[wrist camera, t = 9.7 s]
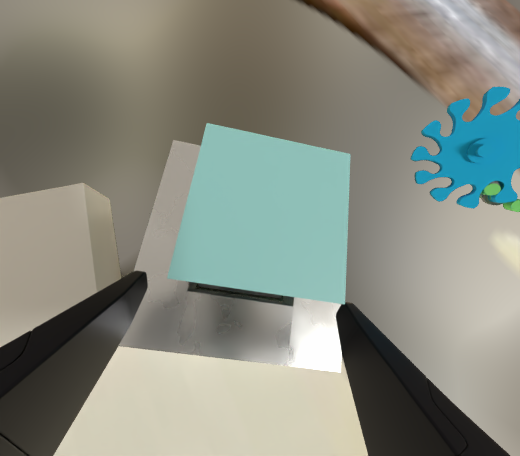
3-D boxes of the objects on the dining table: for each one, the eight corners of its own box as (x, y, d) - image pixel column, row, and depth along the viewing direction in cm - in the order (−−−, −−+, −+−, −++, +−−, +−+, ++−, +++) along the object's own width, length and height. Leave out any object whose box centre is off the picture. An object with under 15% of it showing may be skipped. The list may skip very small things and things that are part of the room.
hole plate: (320, 354, 16) (342, 373, 13) (135, 331, 14) (108, 346, 11) (331, 191, 19) (349, 175, 16) (182, 161, 18) (172, 138, 15)
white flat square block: (126, 311, 15) (100, 319, 12) (-23, 356, 13) (-96, 378, 10) (109, 199, 16) (83, 182, 14) (-25, 225, 15) (-87, 213, 12)
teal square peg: (272, 286, 16) (345, 304, 6) (211, 277, 16) (166, 278, 5) (280, 228, 18) (350, 154, 7) (223, 218, 17) (206, 122, 7)
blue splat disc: (394, 134, 20) (548, 48, 15) (390, 143, 25) (505, 81, 20) (444, 235, 20) (620, 186, 14) (430, 224, 25) (557, 184, 19)
